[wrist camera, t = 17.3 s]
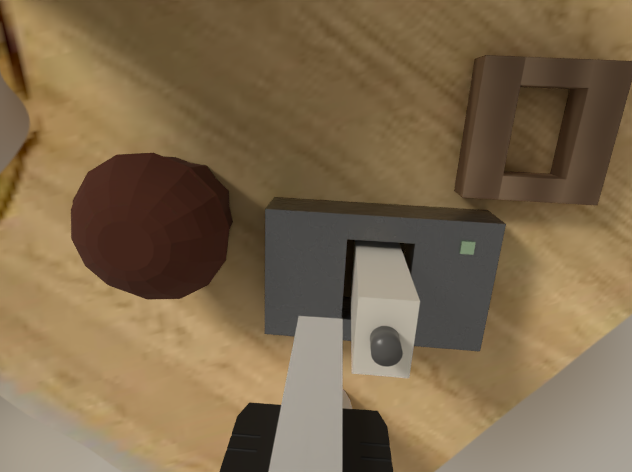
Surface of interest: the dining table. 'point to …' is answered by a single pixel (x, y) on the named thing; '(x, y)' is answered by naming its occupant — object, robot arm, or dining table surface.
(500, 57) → the brown wooden square frame
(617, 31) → the dining table surface
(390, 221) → the switch box
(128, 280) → the muffin
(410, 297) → the plug
